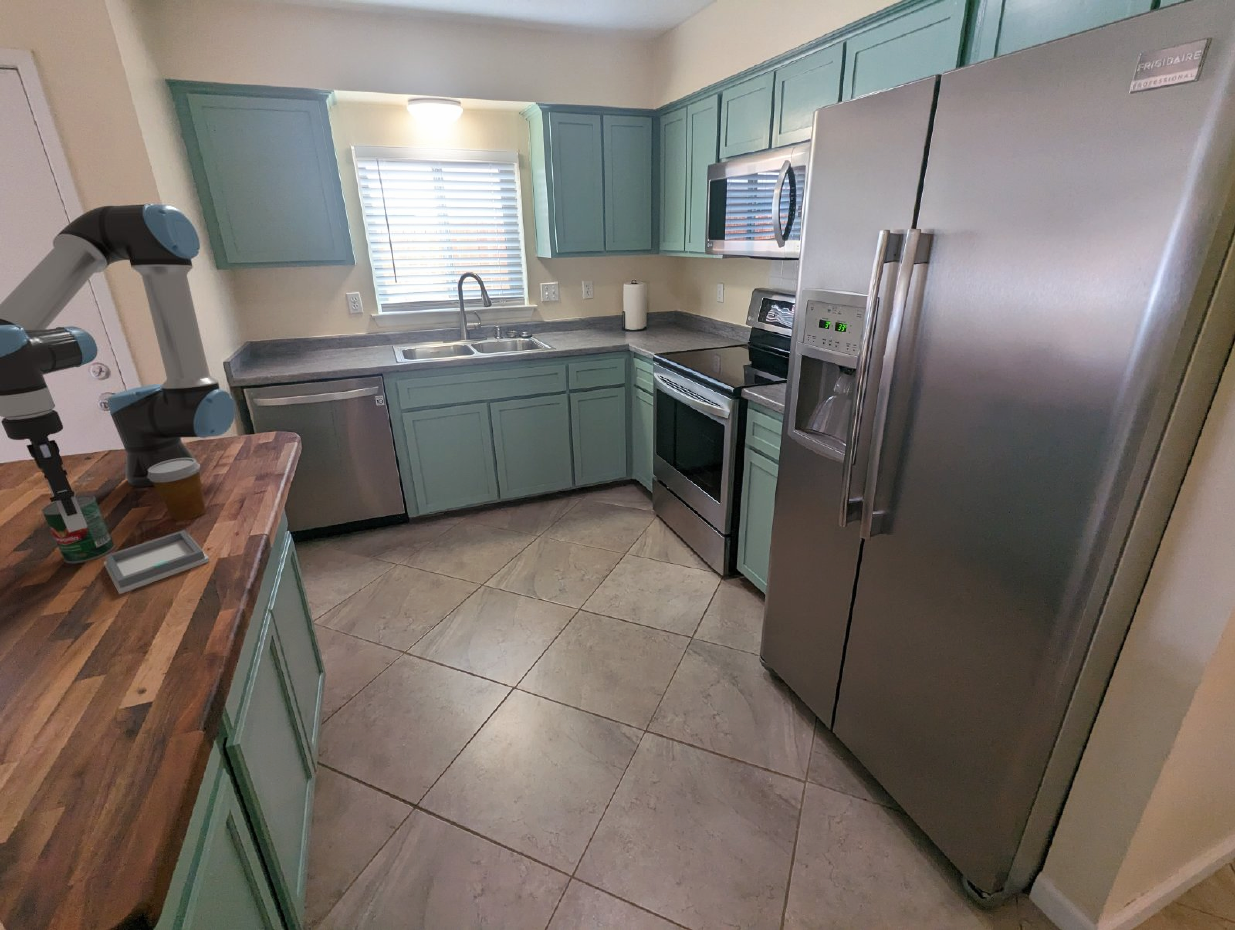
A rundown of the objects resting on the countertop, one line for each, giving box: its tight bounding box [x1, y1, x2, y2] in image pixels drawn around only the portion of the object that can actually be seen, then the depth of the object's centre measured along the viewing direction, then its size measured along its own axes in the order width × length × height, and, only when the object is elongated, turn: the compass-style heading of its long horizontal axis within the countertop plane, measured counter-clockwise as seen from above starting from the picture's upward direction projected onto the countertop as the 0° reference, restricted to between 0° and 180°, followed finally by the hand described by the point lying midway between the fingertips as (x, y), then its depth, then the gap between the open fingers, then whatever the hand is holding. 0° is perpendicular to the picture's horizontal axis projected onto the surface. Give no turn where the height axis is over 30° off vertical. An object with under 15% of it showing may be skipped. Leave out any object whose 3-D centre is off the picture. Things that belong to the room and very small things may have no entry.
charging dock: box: [103, 529, 211, 595], centre depth 112 cm, size 14×14×2 cm
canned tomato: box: [41, 494, 116, 564], centre depth 115 cm, size 8×8×11 cm
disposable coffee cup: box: [147, 458, 207, 521], centre depth 129 cm, size 10×10×12 cm
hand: (72, 518), depth 114 cm, fingers open, 13 cm apart
